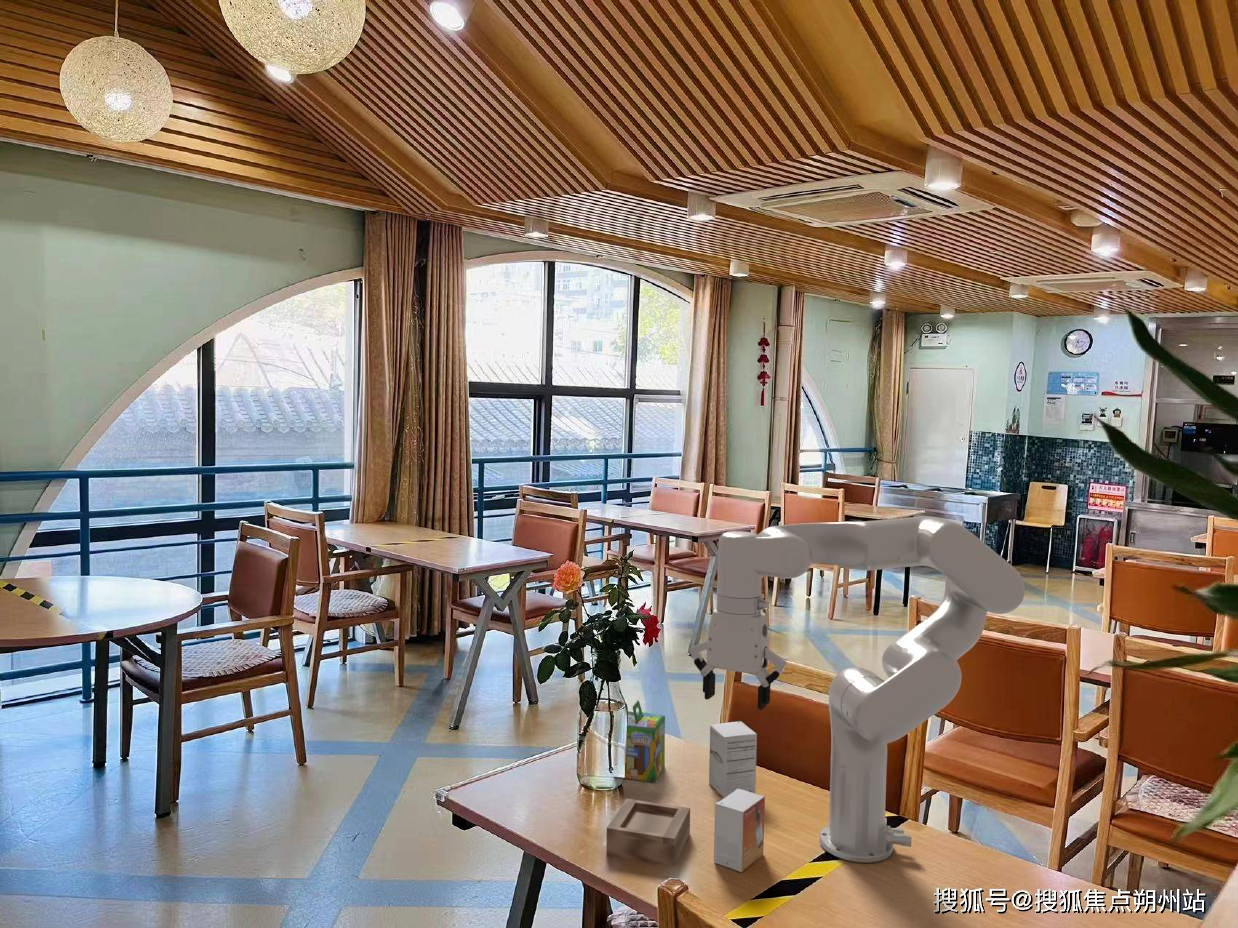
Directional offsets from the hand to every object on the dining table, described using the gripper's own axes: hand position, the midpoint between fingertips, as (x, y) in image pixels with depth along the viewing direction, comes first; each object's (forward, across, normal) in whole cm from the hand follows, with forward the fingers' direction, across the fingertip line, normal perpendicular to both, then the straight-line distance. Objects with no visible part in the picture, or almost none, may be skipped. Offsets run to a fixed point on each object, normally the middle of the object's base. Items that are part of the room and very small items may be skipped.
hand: (735, 702), depth 154 cm
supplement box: (+27, +9, -24) cm, 37 cm away
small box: (+27, -2, +2) cm, 27 cm away
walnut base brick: (+27, +14, +5) cm, 31 cm away
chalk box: (+27, +29, -22) cm, 45 cm away
